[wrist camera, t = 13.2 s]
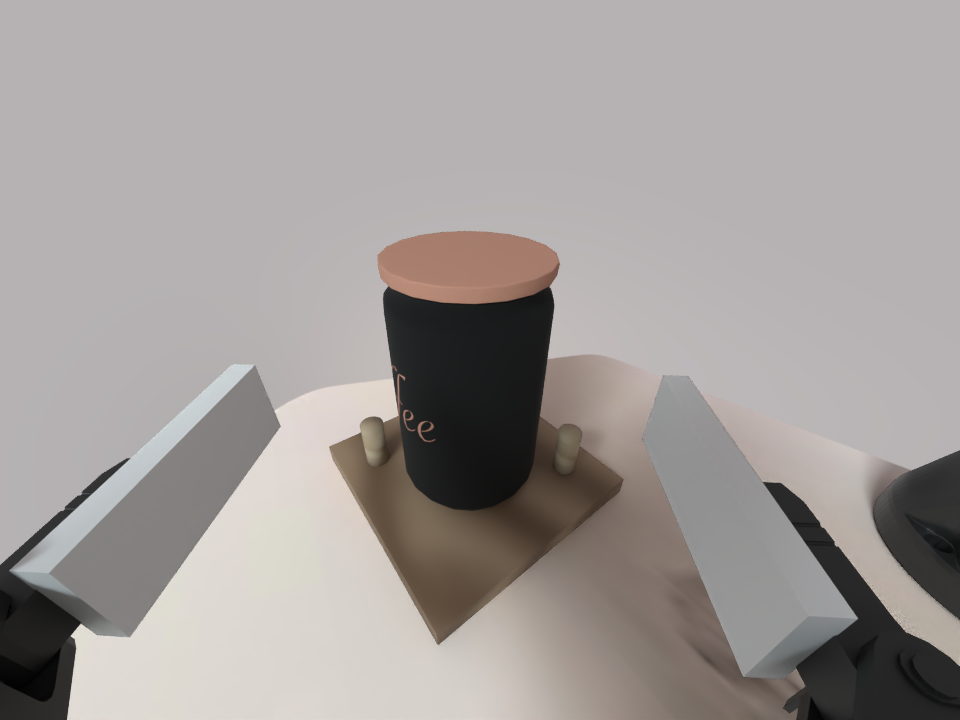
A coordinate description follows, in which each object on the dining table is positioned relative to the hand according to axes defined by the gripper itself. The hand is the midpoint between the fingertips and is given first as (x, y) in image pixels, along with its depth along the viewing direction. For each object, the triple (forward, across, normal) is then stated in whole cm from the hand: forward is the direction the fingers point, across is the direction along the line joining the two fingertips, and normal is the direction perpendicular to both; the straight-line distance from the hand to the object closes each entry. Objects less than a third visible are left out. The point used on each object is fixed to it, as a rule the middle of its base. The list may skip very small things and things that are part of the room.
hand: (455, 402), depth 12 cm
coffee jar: (+12, -1, -17) cm, 21 cm away
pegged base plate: (+12, -1, -18) cm, 22 cm away
